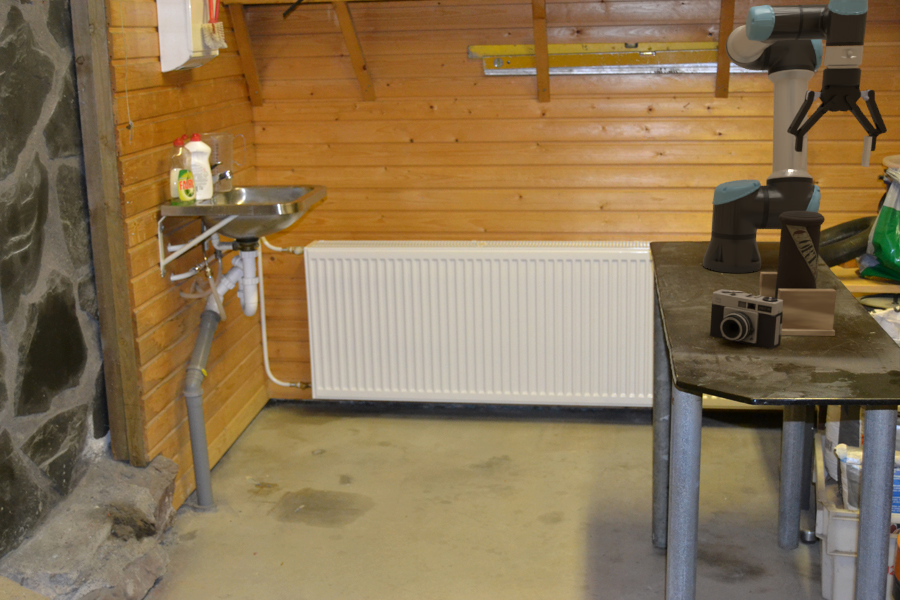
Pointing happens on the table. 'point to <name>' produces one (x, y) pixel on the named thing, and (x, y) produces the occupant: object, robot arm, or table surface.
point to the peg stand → (802, 307)
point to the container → (798, 250)
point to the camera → (746, 318)
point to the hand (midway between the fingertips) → (833, 166)
